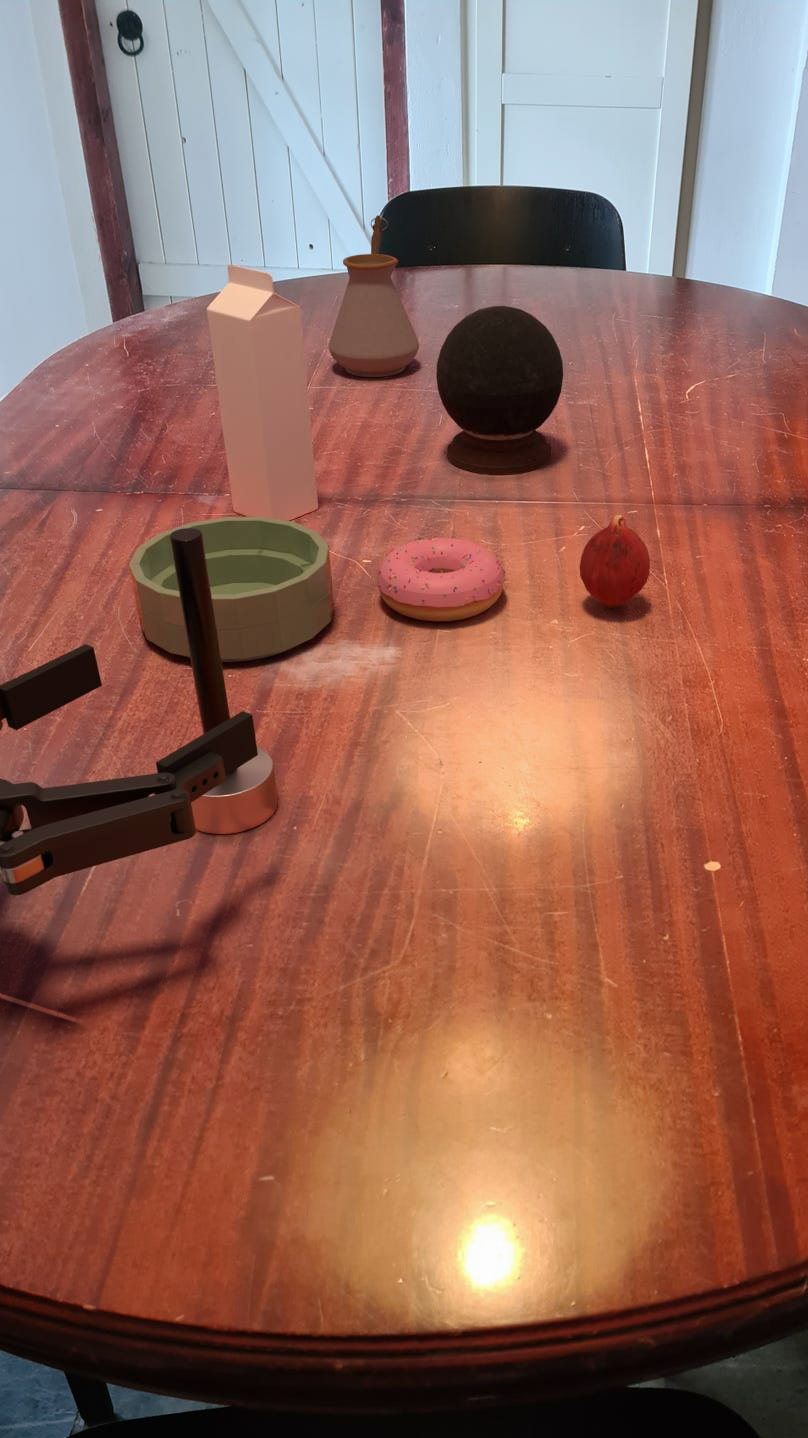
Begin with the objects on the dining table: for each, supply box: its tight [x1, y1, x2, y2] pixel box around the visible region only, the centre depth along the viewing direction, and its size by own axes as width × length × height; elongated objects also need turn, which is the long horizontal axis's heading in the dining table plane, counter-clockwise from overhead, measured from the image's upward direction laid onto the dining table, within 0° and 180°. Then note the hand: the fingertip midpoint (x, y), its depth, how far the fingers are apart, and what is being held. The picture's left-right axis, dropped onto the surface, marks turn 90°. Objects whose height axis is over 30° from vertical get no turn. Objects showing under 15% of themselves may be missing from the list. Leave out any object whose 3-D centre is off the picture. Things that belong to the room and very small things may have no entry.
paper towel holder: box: [170, 528, 279, 835], centre depth 76 cm, size 6×6×19 cm
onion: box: [579, 514, 651, 609], centre depth 102 cm, size 6×6×8 cm
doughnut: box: [374, 535, 507, 622], centre depth 104 cm, size 11×11×4 cm
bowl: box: [128, 516, 335, 663], centre depth 101 cm, size 16×16×6 cm
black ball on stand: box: [435, 305, 564, 476], centre depth 128 cm, size 13×13×15 cm
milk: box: [206, 264, 319, 521], centre depth 115 cm, size 6×6×22 cm
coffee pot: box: [328, 215, 420, 378], centre depth 157 cm, size 21×12×15 cm, turn 179°
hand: (169, 697), depth 74 cm, fingers open, 13 cm apart
